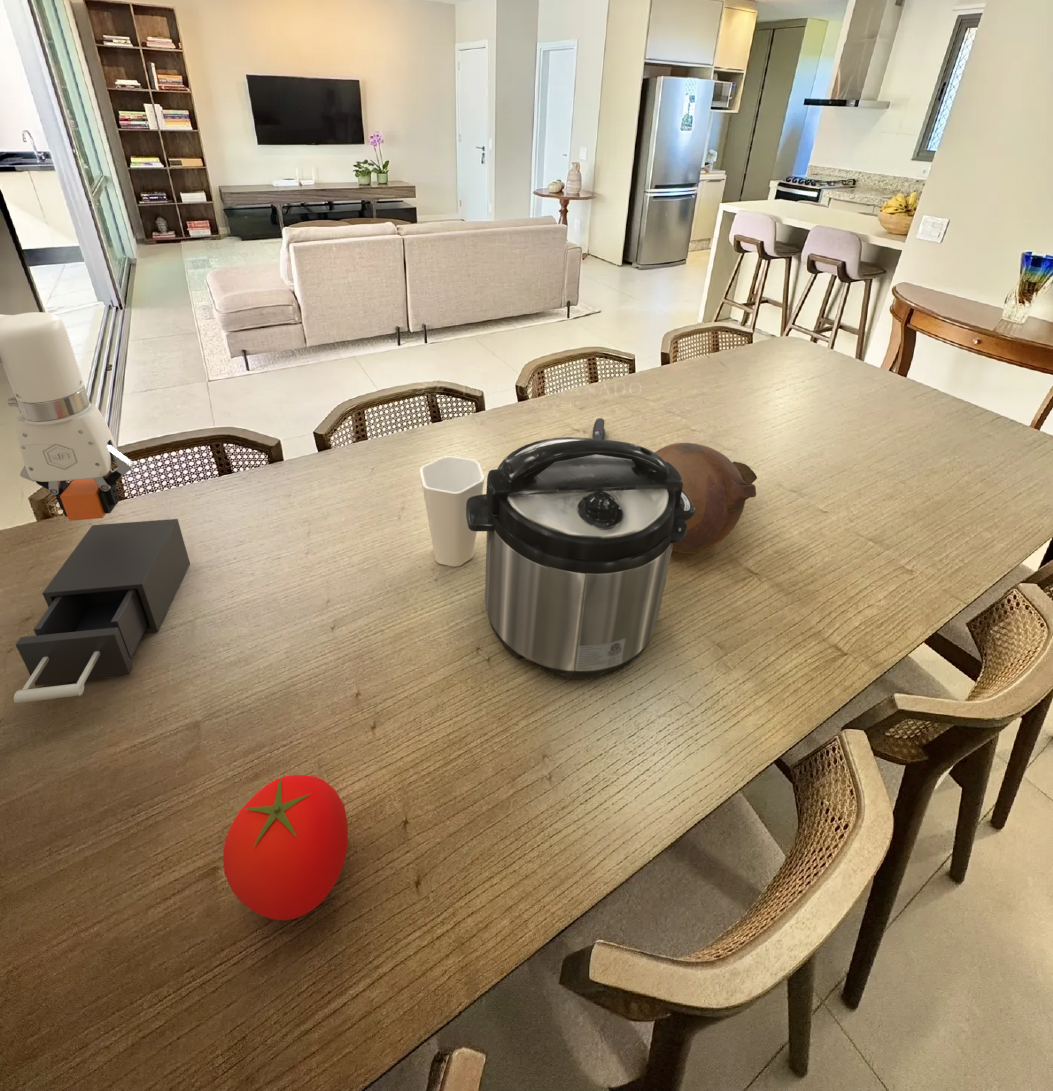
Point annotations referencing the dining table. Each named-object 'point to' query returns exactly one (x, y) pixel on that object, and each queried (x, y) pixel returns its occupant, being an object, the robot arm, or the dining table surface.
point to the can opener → (599, 430)
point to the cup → (451, 506)
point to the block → (82, 500)
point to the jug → (709, 492)
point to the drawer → (81, 642)
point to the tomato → (287, 847)
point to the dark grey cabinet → (127, 565)
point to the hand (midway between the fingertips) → (92, 508)
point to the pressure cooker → (578, 551)
